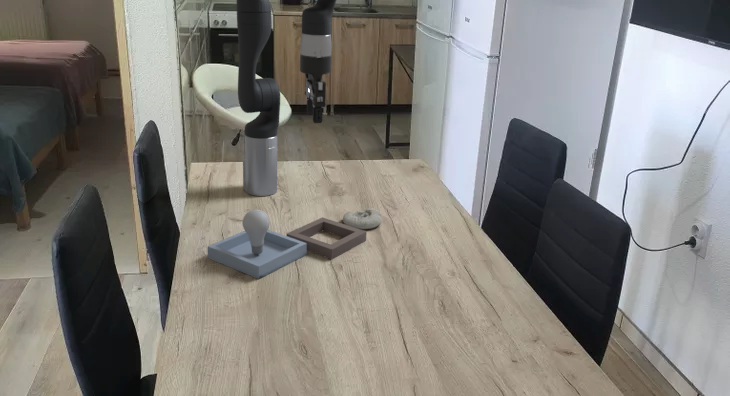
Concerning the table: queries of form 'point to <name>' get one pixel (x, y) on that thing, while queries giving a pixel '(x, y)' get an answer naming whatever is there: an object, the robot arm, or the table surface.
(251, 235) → the lightbulb
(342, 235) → the brownish grey square frame
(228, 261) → the tray
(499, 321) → the table surface
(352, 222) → the fossil
